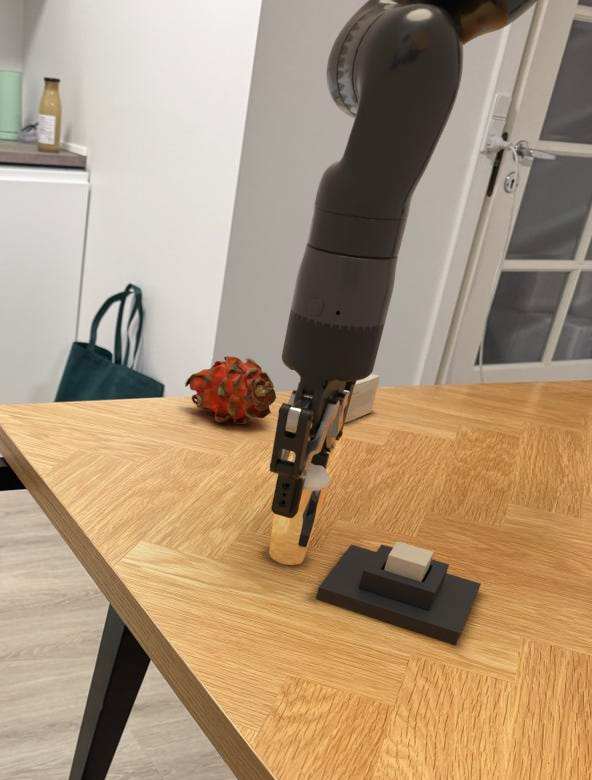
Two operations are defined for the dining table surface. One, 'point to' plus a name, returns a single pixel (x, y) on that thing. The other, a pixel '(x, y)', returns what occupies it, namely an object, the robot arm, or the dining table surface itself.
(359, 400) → the small box
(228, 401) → the dragon fruit
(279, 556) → the milkshake
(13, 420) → the dining table surface
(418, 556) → the beige square block
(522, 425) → the dining table surface
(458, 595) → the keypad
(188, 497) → the dining table surface
